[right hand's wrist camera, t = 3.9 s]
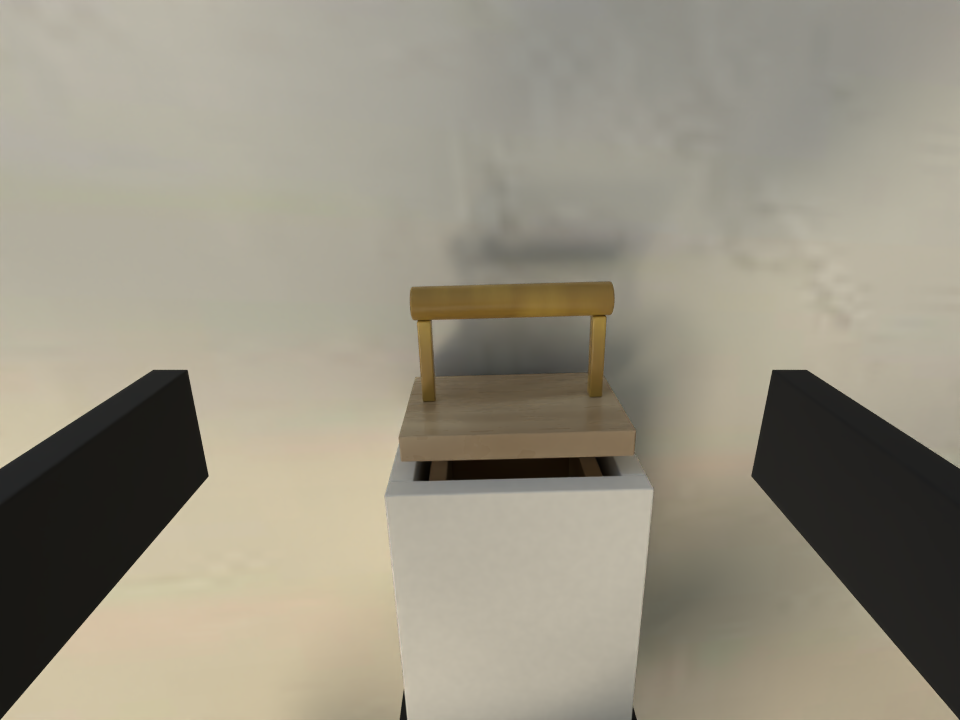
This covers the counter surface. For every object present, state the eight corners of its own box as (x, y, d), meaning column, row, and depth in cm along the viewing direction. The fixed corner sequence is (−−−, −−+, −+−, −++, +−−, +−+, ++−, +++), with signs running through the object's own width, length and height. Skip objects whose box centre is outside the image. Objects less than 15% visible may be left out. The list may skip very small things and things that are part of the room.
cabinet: (408, 405, 30) (383, 495, 22) (606, 400, 30) (654, 489, 22) (430, 680, 37) (417, 824, 29) (590, 675, 37) (622, 819, 29)
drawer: (407, 274, 26) (387, 309, 20) (607, 268, 26) (646, 301, 20) (435, 654, 35) (426, 759, 29) (586, 650, 35) (610, 754, 29)
